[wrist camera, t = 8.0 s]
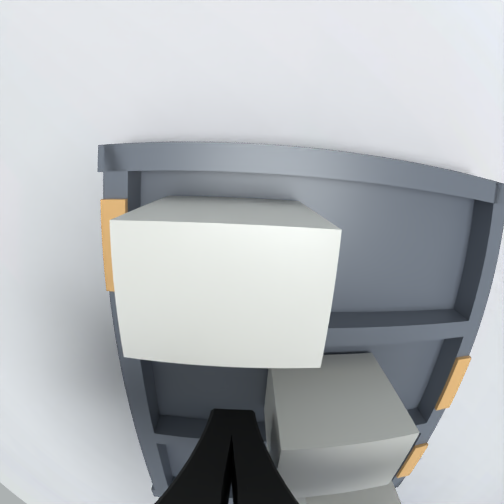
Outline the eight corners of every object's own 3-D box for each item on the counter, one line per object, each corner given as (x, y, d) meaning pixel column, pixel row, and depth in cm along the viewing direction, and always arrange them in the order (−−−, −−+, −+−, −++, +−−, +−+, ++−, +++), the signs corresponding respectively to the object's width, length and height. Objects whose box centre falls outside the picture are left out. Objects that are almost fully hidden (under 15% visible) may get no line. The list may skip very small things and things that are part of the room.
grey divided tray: (387, 460, 15) (399, 489, 13) (160, 465, 15) (153, 498, 12) (471, 179, 11) (511, 185, 8) (126, 148, 10) (95, 144, 8)
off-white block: (356, 405, 12) (388, 484, 7) (263, 409, 12) (270, 498, 7) (371, 352, 11) (419, 432, 7) (269, 355, 11) (281, 450, 7)
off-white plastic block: (291, 286, 10) (320, 367, 6) (169, 281, 10) (123, 357, 6) (298, 201, 10) (341, 229, 5) (168, 195, 9) (109, 220, 5)
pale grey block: (359, 469, 13) (380, 531, 9) (288, 476, 13) (297, 545, 9) (374, 438, 13) (402, 507, 8) (296, 447, 12) (309, 525, 8)
